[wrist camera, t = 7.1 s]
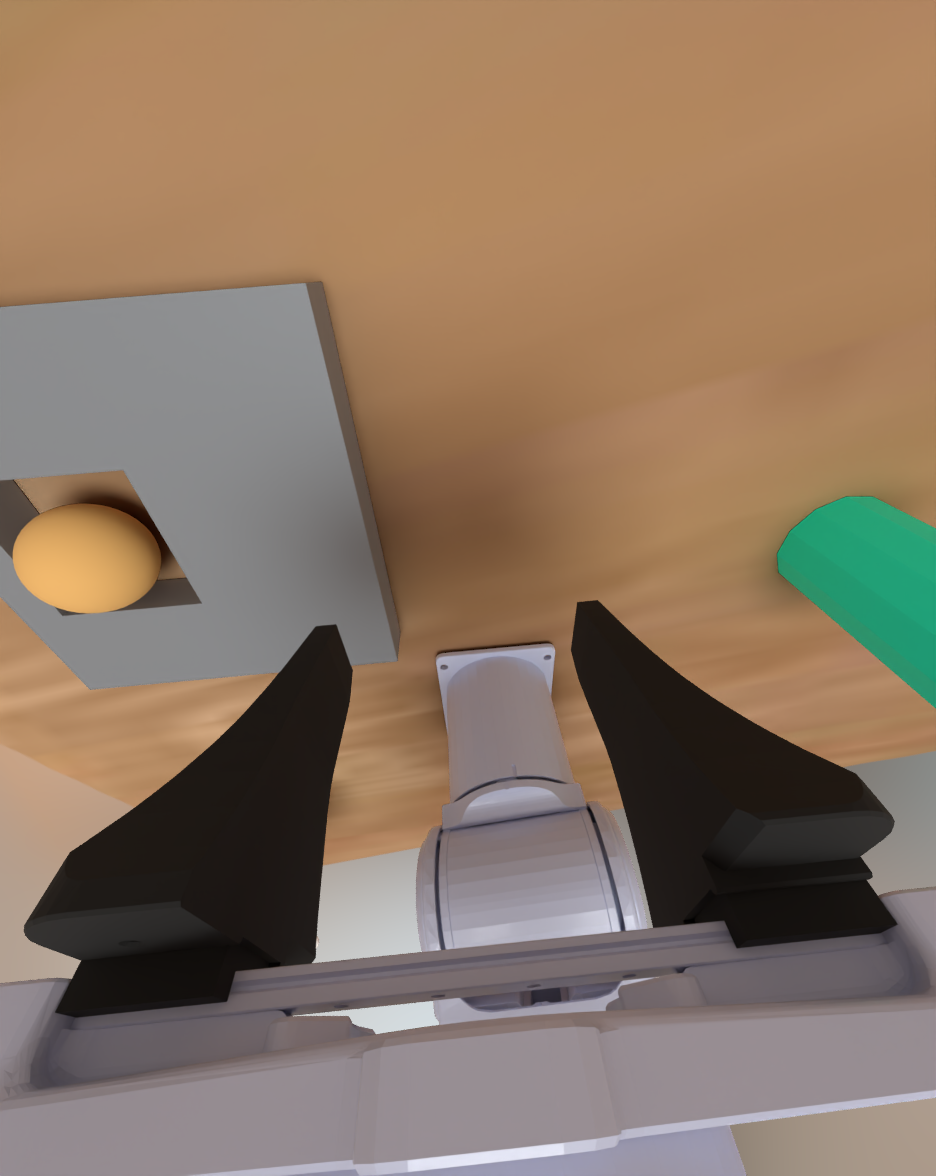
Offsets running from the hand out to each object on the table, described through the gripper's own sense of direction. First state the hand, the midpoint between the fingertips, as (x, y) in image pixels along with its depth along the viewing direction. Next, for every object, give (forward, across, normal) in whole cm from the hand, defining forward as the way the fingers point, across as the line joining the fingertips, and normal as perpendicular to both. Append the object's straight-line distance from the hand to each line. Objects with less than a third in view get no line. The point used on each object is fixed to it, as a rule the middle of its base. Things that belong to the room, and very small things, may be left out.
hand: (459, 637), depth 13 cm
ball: (+8, +16, +1) cm, 18 cm away
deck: (+10, +13, 0) cm, 17 cm away
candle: (+11, -22, +5) cm, 25 cm away
